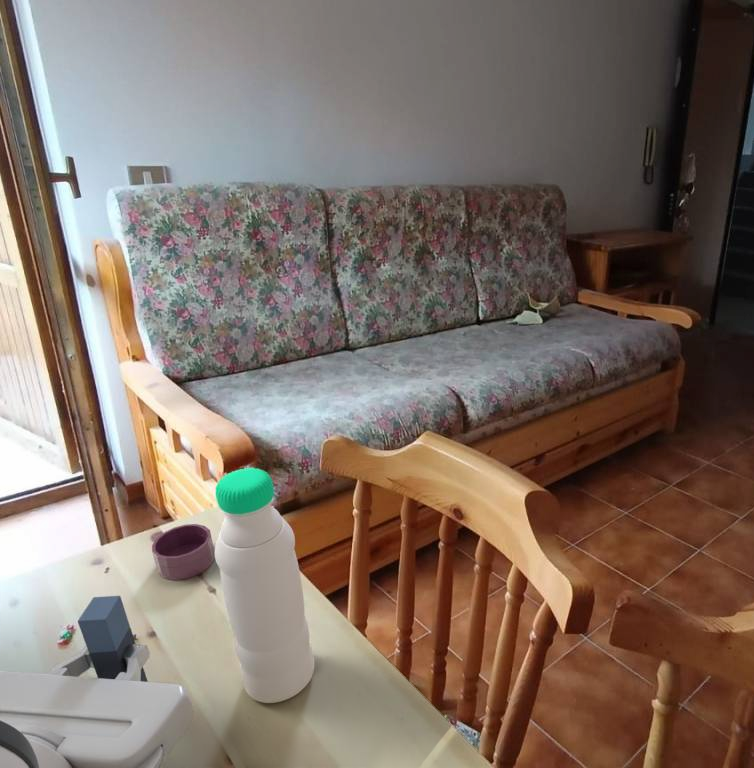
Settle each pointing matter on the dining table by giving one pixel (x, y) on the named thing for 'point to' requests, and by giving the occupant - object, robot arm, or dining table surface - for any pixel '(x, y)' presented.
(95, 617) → the eraser
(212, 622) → the dining table surface
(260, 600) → the water bottle
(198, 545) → the bowl
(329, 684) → the dining table surface
